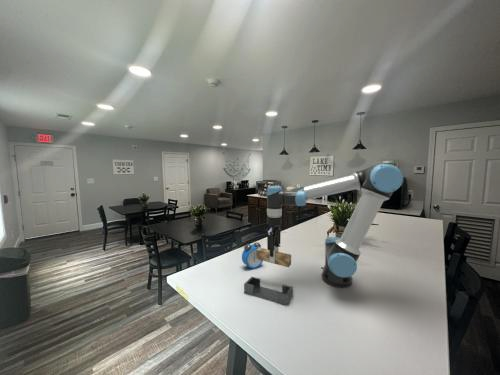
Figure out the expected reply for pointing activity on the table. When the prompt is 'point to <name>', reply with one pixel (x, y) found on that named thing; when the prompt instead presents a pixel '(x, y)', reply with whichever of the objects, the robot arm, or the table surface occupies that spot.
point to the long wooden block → (280, 257)
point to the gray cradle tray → (268, 292)
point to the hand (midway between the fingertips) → (274, 260)
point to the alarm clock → (251, 256)
